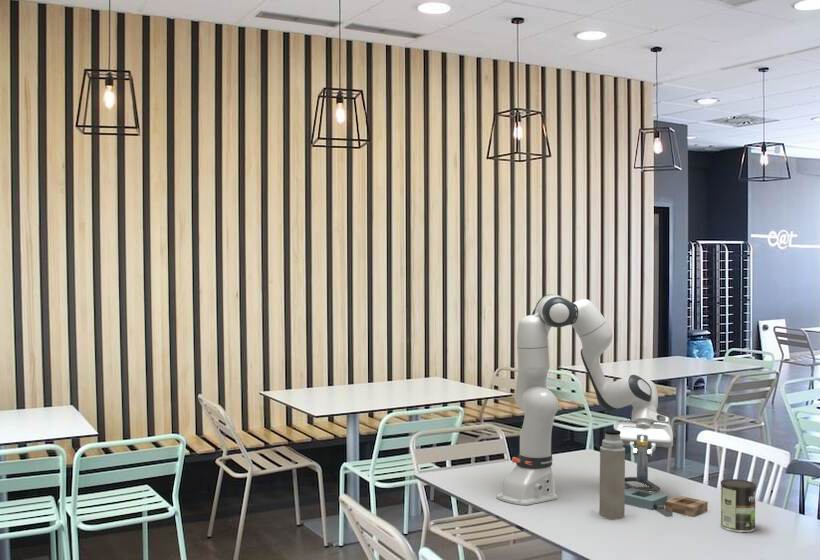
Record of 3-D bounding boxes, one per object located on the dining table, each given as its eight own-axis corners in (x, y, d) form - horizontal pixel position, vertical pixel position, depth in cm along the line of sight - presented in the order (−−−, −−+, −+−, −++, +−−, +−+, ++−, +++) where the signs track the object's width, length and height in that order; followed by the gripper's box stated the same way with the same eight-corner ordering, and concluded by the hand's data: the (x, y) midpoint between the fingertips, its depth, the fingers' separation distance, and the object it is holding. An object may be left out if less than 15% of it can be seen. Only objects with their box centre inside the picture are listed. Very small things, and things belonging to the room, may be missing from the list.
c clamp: (666, 495, 304) (666, 487, 304) (619, 496, 303) (619, 488, 303) (647, 480, 325) (647, 473, 325) (602, 481, 324) (602, 474, 323)
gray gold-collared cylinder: (644, 483, 290) (644, 437, 290) (634, 481, 293) (634, 435, 292) (649, 481, 293) (650, 435, 292) (640, 479, 296) (640, 433, 295)
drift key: (672, 516, 278) (672, 510, 278) (666, 516, 277) (666, 511, 277) (659, 509, 286) (659, 503, 286) (654, 509, 285) (654, 504, 285)
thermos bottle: (600, 510, 283) (601, 427, 283) (625, 513, 281) (626, 429, 280) (598, 517, 276) (598, 432, 275) (623, 520, 273) (624, 433, 273)
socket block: (692, 516, 277) (692, 507, 277) (664, 510, 284) (665, 501, 284) (707, 510, 284) (707, 501, 284) (679, 504, 291) (679, 495, 291)
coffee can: (758, 526, 268) (758, 481, 268) (751, 535, 259) (752, 489, 259) (723, 520, 274) (724, 477, 273) (716, 529, 265) (717, 484, 264)
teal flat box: (652, 510, 284) (652, 501, 284) (615, 501, 295) (615, 492, 294) (667, 504, 291) (667, 495, 291) (631, 495, 301) (631, 487, 301)
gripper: (613, 414, 302) (610, 447, 293) (673, 417, 296) (672, 452, 287) (614, 424, 307) (611, 457, 298) (674, 428, 300) (673, 462, 291)
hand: (642, 455), depth 292 cm, fingers closed on gray gold-collared cylinder, 4 cm apart
